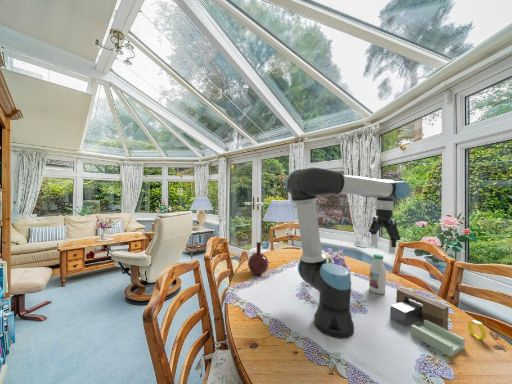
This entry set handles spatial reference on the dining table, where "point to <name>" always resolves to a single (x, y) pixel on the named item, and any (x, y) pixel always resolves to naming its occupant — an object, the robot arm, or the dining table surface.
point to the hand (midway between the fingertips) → (382, 249)
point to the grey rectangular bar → (406, 312)
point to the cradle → (439, 338)
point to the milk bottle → (377, 275)
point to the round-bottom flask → (258, 261)
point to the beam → (426, 307)
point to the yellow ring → (479, 327)
